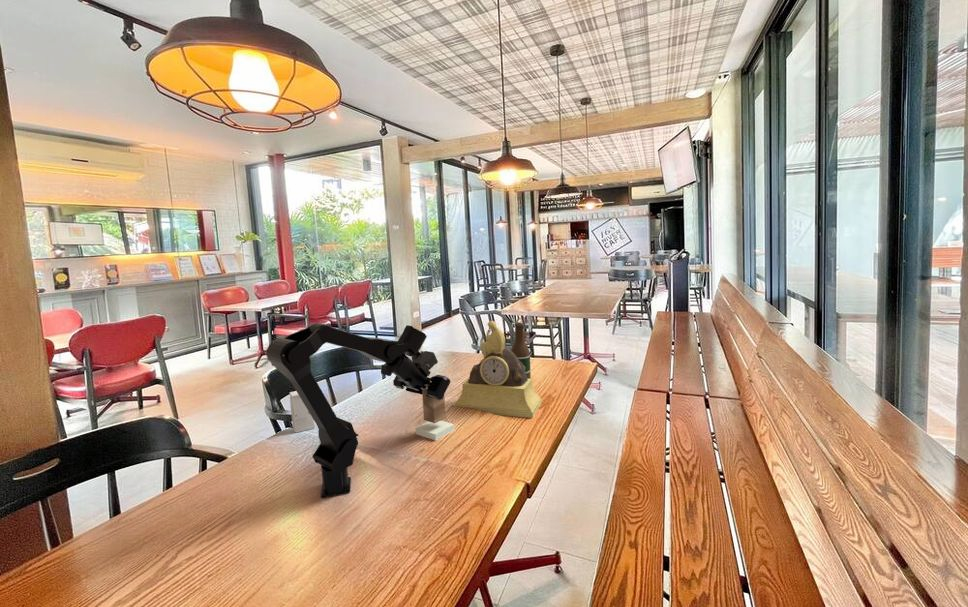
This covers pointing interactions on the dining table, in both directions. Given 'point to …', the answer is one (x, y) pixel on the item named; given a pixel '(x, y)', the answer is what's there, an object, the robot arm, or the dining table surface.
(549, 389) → the dining table surface
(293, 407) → the skincare box
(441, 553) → the dining table surface
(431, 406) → the walnut pillar
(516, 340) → the beer bottle
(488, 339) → the decorative clock
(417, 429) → the tower top block
